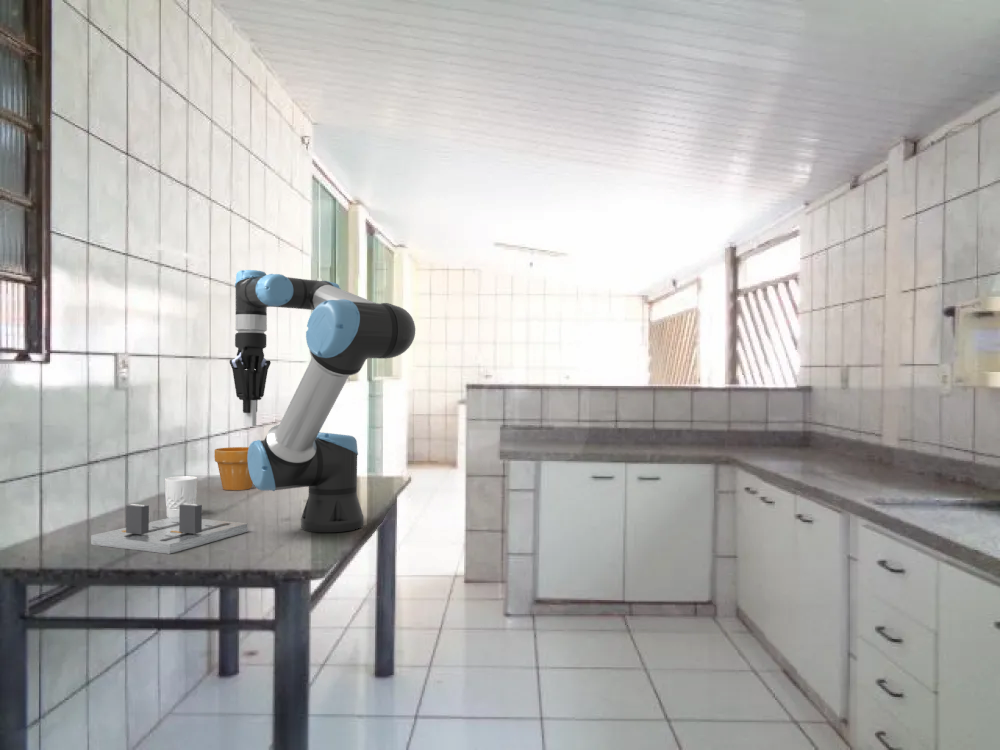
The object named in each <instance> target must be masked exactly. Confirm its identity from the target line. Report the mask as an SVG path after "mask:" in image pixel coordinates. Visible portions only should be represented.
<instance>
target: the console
mask: <svg viewBox="0 0 1000 750" xmlns="http://www.w3.org/2000/svg"><path fill="white" fill-rule="evenodd" d="M248 527H249V525H248V523H247V522H237V521H228V520H217V519H208V518H202V532H200V533H196V534H192V533H183V532H179V517H177V516H175V517H171V518H168V517H166V518H163V519H158V520H153V521H149V533H145V534H132V533H126V527H122V528H119V529H114V530H109V531H104V532H100V533H95V534H91V535H90V544H91V545H93V546H101V547H109V548H114V549H115V548H117V549H125V550H133V551H142V552H150V553H160V554H167V555H171V554H175V553H178V552H182V551H185V550H188V549H191V548H196V547H199V546H202V545H206V544H210V543H214V542H216V541H220V540H224V539H228V538H231V537H234V536H238V535H241V534H245V533H248V531H249V530H248Z"/></svg>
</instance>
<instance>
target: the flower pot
mask: <svg viewBox="0 0 1000 750" xmlns="http://www.w3.org/2000/svg"><path fill="white" fill-rule="evenodd" d="M248 449H249V446H245V447H244V446H238V447H237V446H236V447H235V446H231V447H230V446H229V447H219V448H215V449H214V461H215V462H216V463H217V468H218V472H219V476H220V482H221V486H222V489H223V490H225V491H245V490H246V491H247V490H250V489H252V487H253V482H252V480H251V477H250V474H249V469H248V460H247V456H248Z"/></svg>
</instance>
